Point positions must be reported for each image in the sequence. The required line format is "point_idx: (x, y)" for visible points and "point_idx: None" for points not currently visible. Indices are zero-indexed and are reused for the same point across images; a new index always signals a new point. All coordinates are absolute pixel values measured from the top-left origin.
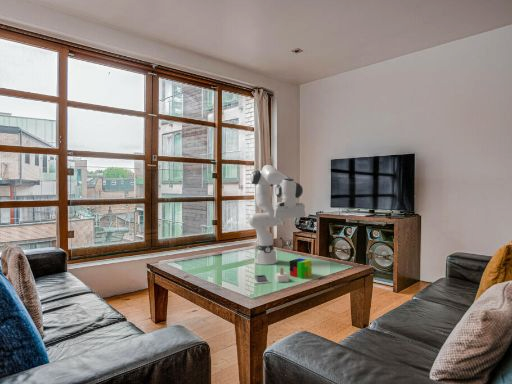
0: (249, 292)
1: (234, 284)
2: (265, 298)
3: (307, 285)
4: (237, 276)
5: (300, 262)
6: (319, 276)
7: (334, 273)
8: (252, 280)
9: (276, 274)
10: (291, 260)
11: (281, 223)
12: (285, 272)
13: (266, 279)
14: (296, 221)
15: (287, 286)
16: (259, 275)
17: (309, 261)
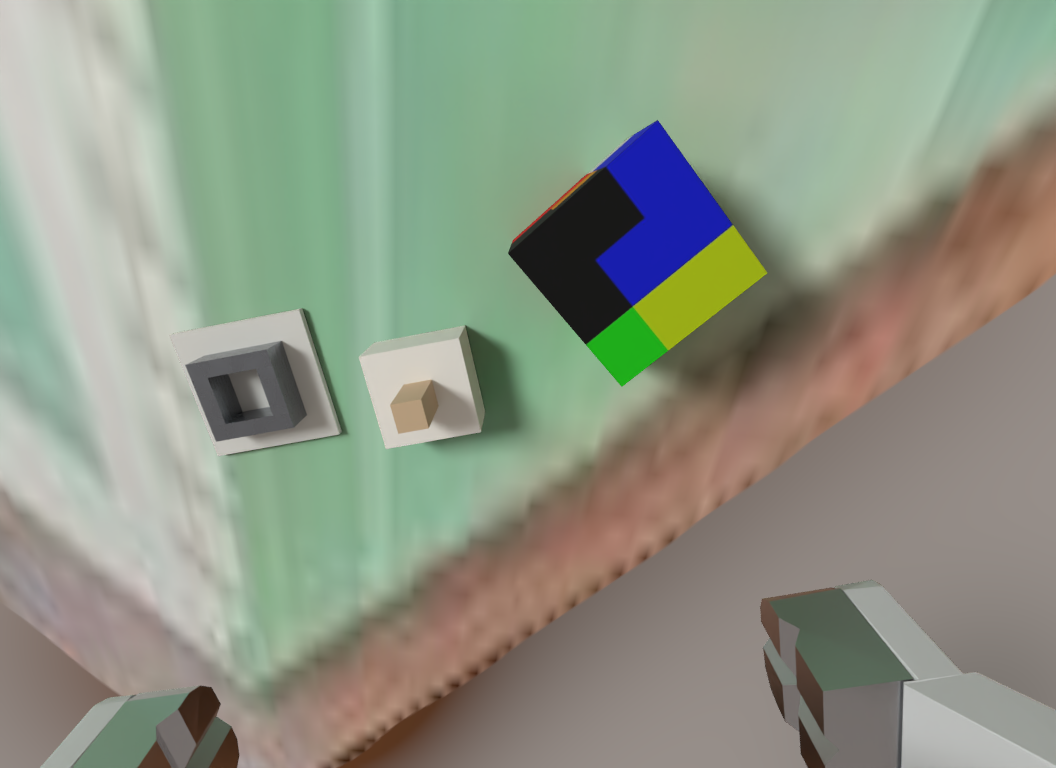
0: (218, 609)
1: (65, 439)
2: (328, 704)
3: (608, 518)
4: (11, 199)
5: (620, 358)
6: (768, 298)
7: (942, 212)
8: (186, 374)
9: (375, 404)
10: (532, 240)
11: (62, 758)
12: (459, 346)
13: (300, 420)
14: (898, 682)
15: (465, 524)
16: (224, 367)
17: (737, 293)
